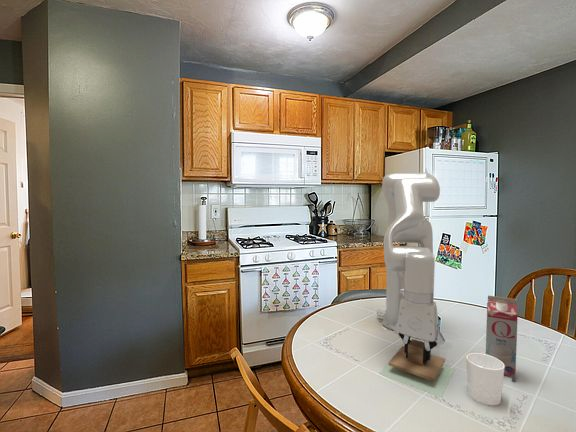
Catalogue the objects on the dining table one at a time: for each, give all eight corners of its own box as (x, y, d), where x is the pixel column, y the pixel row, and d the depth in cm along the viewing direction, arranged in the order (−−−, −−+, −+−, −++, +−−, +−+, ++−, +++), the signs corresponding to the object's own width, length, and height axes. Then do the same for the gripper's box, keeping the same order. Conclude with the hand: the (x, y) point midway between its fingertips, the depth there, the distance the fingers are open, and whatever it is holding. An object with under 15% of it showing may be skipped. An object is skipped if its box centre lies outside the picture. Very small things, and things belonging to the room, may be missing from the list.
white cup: (497, 393, 77) (498, 355, 77) (508, 414, 70) (509, 372, 69) (462, 387, 80) (463, 350, 79) (469, 406, 72) (470, 366, 72)
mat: (379, 377, 84) (379, 373, 84) (398, 354, 97) (398, 351, 97) (441, 401, 74) (441, 397, 74) (454, 372, 87) (454, 369, 87)
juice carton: (515, 382, 82) (518, 302, 81) (485, 374, 86) (488, 298, 85) (512, 370, 88) (515, 296, 87) (485, 364, 91) (487, 292, 90)
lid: (388, 365, 85) (388, 345, 85) (402, 348, 95) (403, 330, 94) (434, 381, 78) (435, 360, 77) (444, 361, 87) (445, 342, 87)
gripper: (384, 293, 87) (383, 354, 88) (448, 307, 77) (446, 376, 78) (393, 287, 93) (392, 344, 94) (454, 298, 82) (452, 363, 84)
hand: (417, 358), depth 86 cm, fingers closed on lid, 4 cm apart
